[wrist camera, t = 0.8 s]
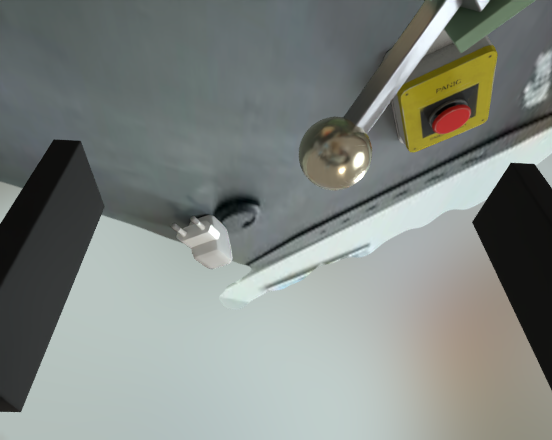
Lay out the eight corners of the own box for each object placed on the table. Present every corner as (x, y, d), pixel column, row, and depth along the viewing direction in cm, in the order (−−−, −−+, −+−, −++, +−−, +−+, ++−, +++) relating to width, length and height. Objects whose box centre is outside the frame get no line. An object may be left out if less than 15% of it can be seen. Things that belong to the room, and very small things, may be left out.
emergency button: (412, 170, 46) (399, 86, 33) (399, 142, 48) (381, 53, 36) (493, 137, 44) (512, 35, 31) (475, 109, 46) (486, 2, 33)
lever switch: (314, 176, 22) (354, 211, 20) (272, 154, 20) (313, 192, 17) (473, -47, 19) (543, -35, 17) (448, -108, 16) (527, -104, 14)
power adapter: (161, 204, 48) (165, 246, 46) (196, 191, 48) (203, 233, 45) (201, 237, 58) (207, 273, 55) (231, 226, 57) (238, 262, 55)
